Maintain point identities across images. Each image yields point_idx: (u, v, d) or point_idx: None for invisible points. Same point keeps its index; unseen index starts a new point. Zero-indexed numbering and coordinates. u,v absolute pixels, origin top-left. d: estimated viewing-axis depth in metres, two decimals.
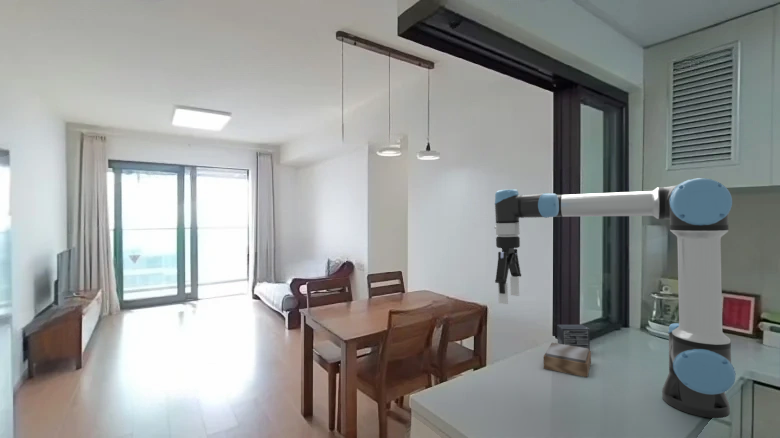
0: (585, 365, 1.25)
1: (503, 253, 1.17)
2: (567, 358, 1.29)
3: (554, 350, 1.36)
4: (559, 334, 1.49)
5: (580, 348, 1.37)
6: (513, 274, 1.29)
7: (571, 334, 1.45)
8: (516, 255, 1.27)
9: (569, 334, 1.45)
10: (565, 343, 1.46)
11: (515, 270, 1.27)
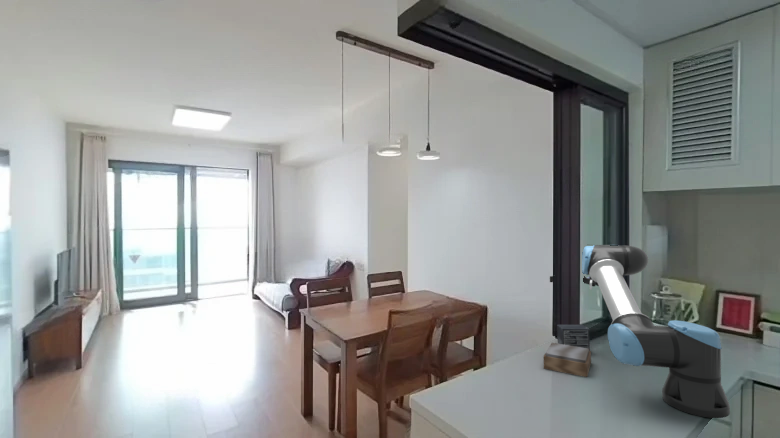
0: (585, 365, 1.25)
1: None
2: (567, 358, 1.29)
3: (554, 350, 1.36)
4: (559, 334, 1.49)
5: (580, 348, 1.37)
6: None
7: (571, 334, 1.45)
8: (589, 277, 1.66)
9: (569, 334, 1.45)
10: (565, 343, 1.46)
11: (588, 279, 1.62)
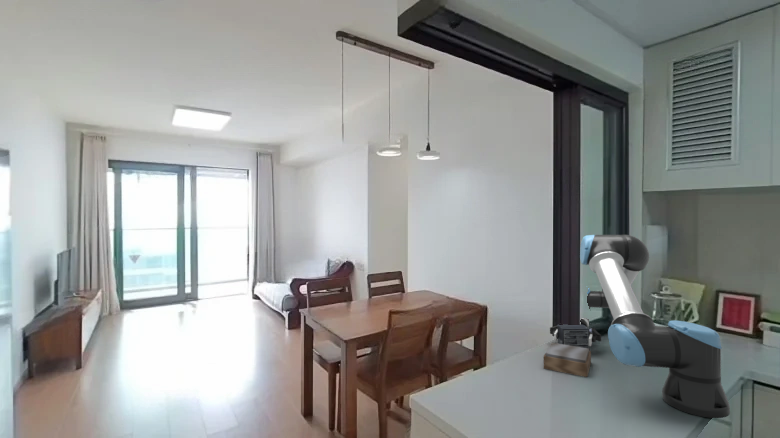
0: (585, 365, 1.25)
1: None
2: (567, 358, 1.29)
3: (554, 350, 1.36)
4: (559, 333, 1.49)
5: (580, 348, 1.37)
6: None
7: (571, 334, 1.45)
8: (591, 329, 1.54)
9: (569, 334, 1.45)
10: (565, 343, 1.46)
11: None
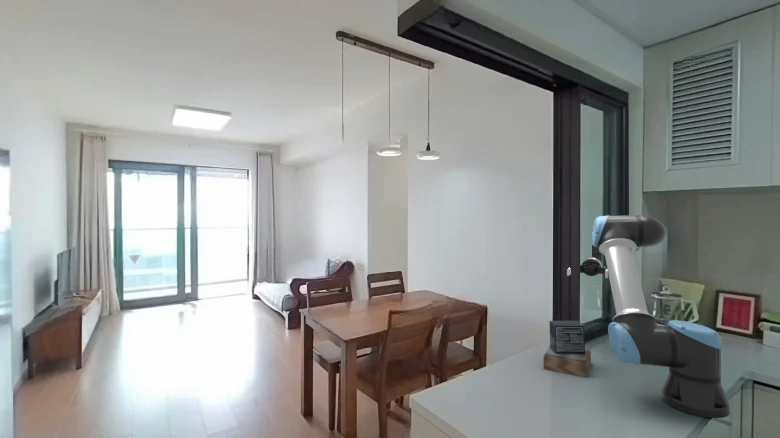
0: (585, 365, 1.25)
1: None
2: (567, 358, 1.29)
3: None
4: (552, 331, 1.35)
5: None
6: None
7: (564, 331, 1.32)
8: (605, 267, 1.55)
9: (562, 331, 1.32)
10: (558, 341, 1.32)
11: (603, 269, 1.51)
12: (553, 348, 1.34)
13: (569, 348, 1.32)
